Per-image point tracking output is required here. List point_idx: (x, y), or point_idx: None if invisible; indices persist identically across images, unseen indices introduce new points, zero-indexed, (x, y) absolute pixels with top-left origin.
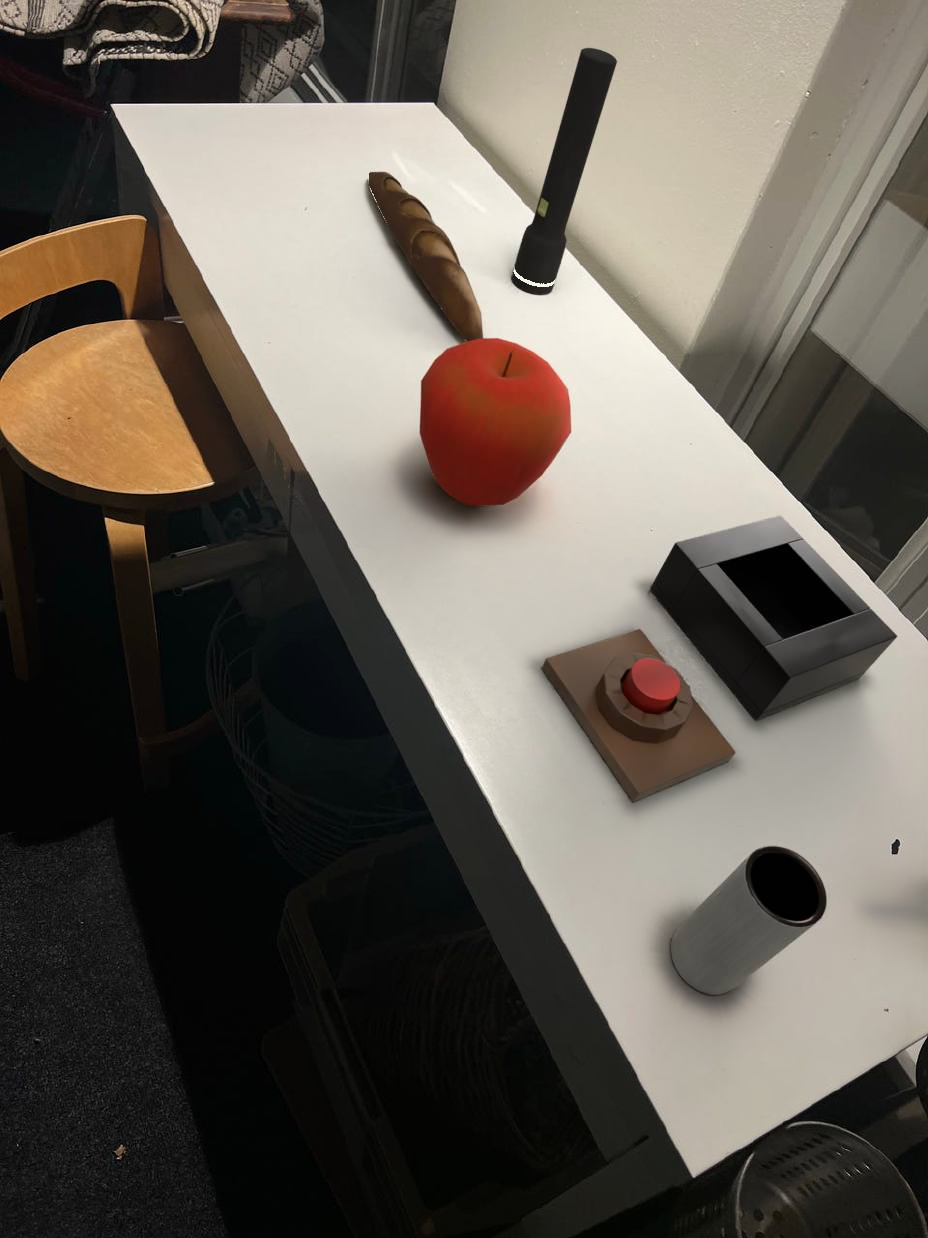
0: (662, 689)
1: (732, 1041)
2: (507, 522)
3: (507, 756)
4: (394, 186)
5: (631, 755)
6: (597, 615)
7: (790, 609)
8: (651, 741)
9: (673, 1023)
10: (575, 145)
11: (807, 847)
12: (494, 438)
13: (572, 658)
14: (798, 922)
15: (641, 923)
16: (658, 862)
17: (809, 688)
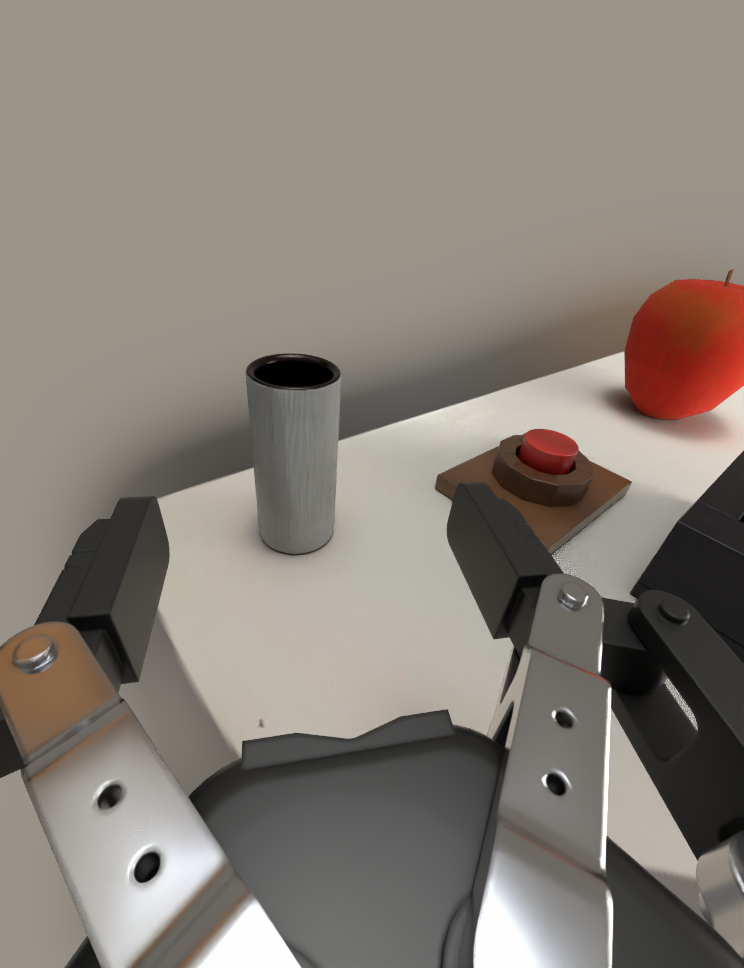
0: (542, 444)
1: (216, 544)
2: (652, 428)
3: (430, 430)
4: None
5: (475, 472)
6: (621, 472)
7: None
8: (500, 481)
9: (232, 506)
10: None
11: (477, 639)
12: (655, 315)
13: None
14: (250, 370)
15: None
16: (383, 502)
17: (737, 620)
